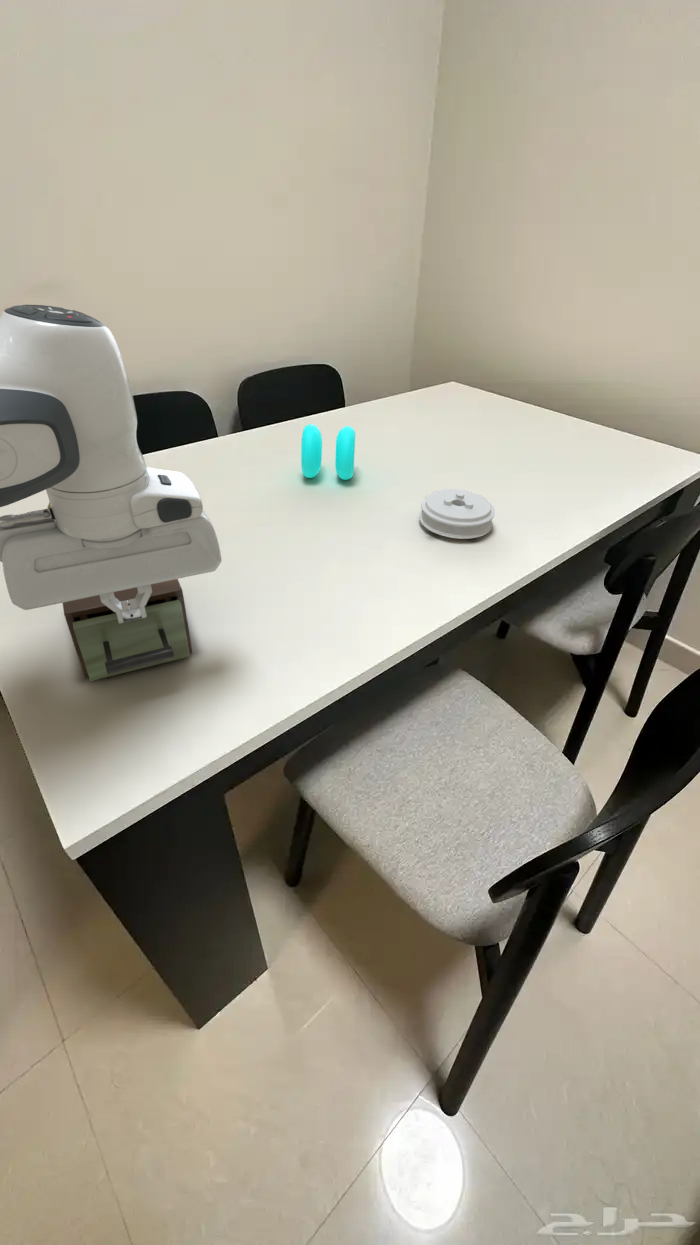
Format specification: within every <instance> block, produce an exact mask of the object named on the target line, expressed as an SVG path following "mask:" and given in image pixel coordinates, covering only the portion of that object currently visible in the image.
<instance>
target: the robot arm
mask: <svg viewBox="0 0 700 1245" xmlns="http://www.w3.org/2000/svg"><path fill="white" fill-rule="evenodd" d="M137 429H138V415H137V410H136V405H135V400H134V396H133V392H132V388H131V383H130V380H129V376H128V373H127V369H126V365H125V362H124V358H123V355H122V353H121V350H120V347H119V345H118V342H117V340H116V338H115V335H114V334H113V333H112V330H111V329H110V328H108V327H107V326H106V325H105V324H104V323H103V322H101V321H100V320H98V319H97V318H95V317H93V316H91V315H89V314H86V313H83V312H81V311H78V310H75V309H67V308H64V307H60V306H52V305H44V304H21V305H11V307H6V308H5V309H4V310H3V311H2V313H1V315H0V508H3V507H6V506H9V505H12V504H14V503H17V502H19V501H22V500H24V499H27V498H29V497H32V496H35V495H37V494H39V493H41V492H43V491H45V492H46V495H47V498H48V501H49V502H50V505H51V508H49V509H48V508H44V509H38V510H37V509H36V510H32V511H29V512H28V511H27V512H24V513H19V514H4V515H1V516H0V563H2V570H3V576H4V581H5V586H6V590H7V593H8V596H9V599H10V601H11V603H12V604H13V605H14V606H16V607H17V608H19V609H21V610H24V611H29V610H34V609H40V608H44V607H48V606H53V605H58V604H63V603H64V602H68V601H73V600H78V599H83V598H88V597H93V596H97V595H99V596H100V599H101V602H102V603H103V604H104V605H106V606H107V607H108V608H110V609H111V610H112V611H113V612H116V615H117V618H118V622H119V624H120V623H125V622H129V621H133V620H137V619H142V618H147V615H146V611H145V607H144V606H146V604H147V601H148V599H149V597H150V595H151V593H152V588H151V584H155V583H160V582H165V581H170V580H175V579H178V580H179V579H183V578H189V577H193V576H194V577H195V576H199V575H203V574H208V573H213V572H216V571H217V569H219V567H220V565H221V564H222V561H223V560H222V559H223V558H222V553H221V552H222V551H221V548H220V543H219V540H218V536H217V533H216V530H215V528H214V526H213V523H212V521H211V519H210V517H209V515H208V513H207V512H206V510H205V509H204V505H203V500H202V497H201V495H200V494H201V493H200V491H199V489H198V487H197V485H196V484H195V482H194V481H193V480H192V479H191V478H190V477H189V476H188V474H186V473H184V472H182V471H177V470H169V469H162V468H155V467H151V466H150V467H149V466H147V463H146V460H145V457H144V455H143V453H142V452H141V449H140V447H139V444H138V439H137V431H138V430H137ZM49 502H48V503H49ZM136 587H137V590H138V592H137V595H136V597H135V598H134V599H130V600H125V601H119V600H118V599H117V598H116V597H115V596H114V592H117V591H122V590H126V589H131V588H136Z"/></svg>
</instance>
